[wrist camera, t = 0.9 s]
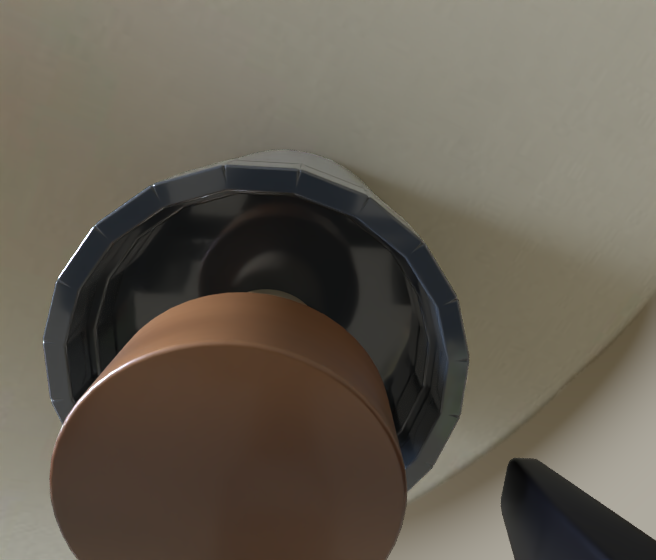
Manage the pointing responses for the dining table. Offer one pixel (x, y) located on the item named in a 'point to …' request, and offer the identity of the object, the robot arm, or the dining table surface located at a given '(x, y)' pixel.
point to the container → (270, 280)
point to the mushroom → (232, 441)
